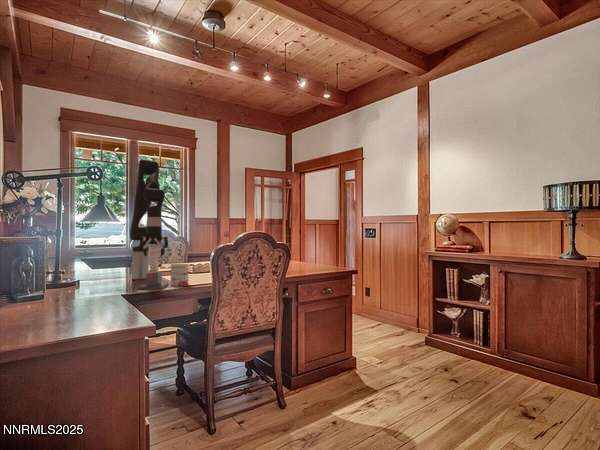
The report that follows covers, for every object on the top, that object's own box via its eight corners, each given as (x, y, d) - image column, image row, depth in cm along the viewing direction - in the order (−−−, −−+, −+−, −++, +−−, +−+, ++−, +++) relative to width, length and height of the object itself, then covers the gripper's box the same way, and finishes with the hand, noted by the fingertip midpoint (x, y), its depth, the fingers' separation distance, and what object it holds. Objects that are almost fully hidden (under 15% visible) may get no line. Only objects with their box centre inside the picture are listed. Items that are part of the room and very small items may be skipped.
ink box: (188, 284, 198) (188, 263, 198) (184, 285, 193) (185, 264, 193) (174, 283, 199) (174, 263, 199) (170, 285, 194) (170, 264, 194)
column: (149, 274, 185) (149, 245, 185) (151, 273, 188) (151, 245, 188) (156, 274, 185) (156, 245, 185) (158, 273, 188) (158, 245, 188)
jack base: (138, 289, 180) (138, 274, 180) (146, 285, 192) (146, 271, 192) (161, 289, 181) (162, 274, 181) (168, 285, 193) (168, 271, 193)
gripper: (169, 225, 191) (169, 255, 191) (143, 225, 190) (142, 255, 190) (165, 225, 184) (165, 256, 183) (137, 225, 182) (137, 256, 182)
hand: (154, 255), depth 187 cm, fingers open, 8 cm apart
